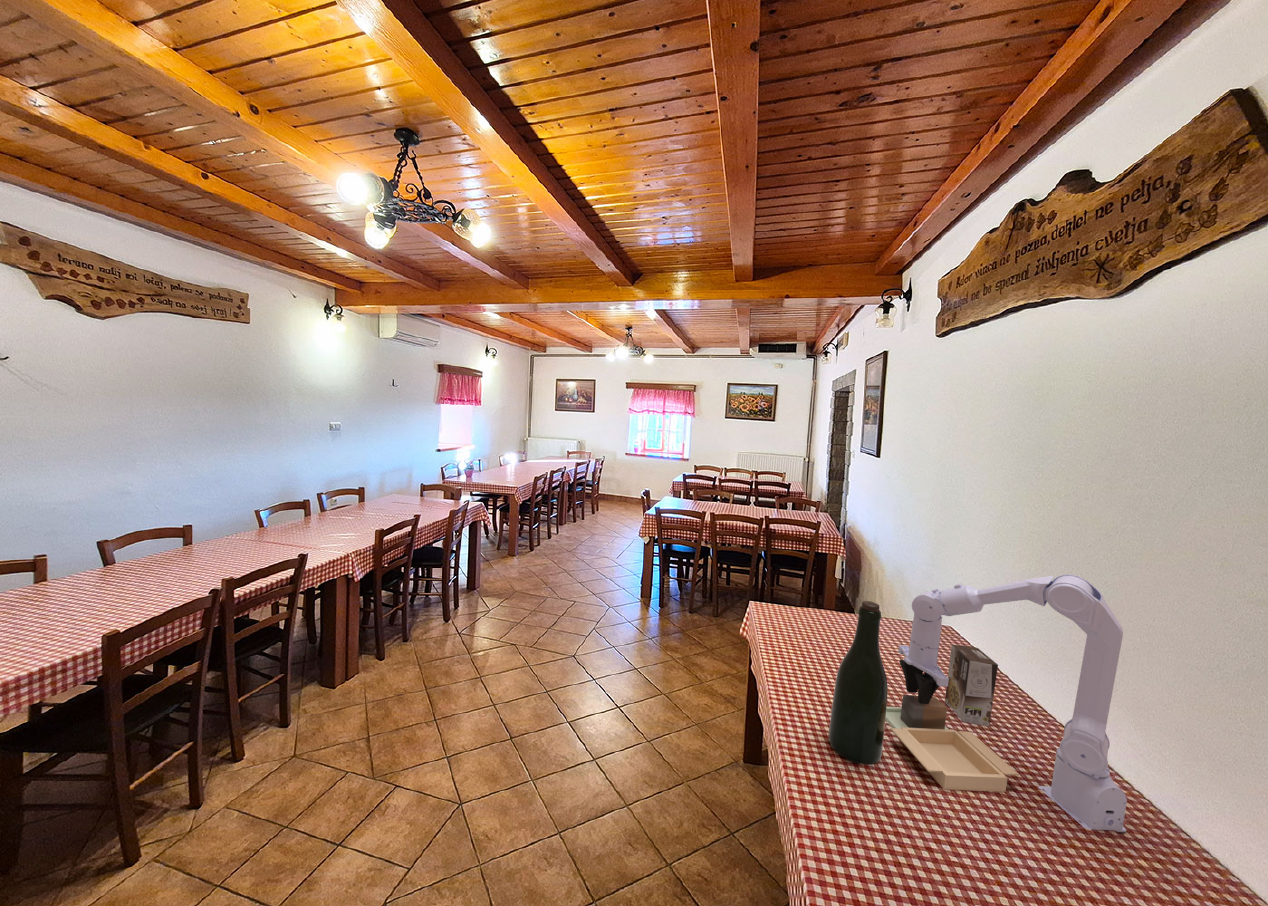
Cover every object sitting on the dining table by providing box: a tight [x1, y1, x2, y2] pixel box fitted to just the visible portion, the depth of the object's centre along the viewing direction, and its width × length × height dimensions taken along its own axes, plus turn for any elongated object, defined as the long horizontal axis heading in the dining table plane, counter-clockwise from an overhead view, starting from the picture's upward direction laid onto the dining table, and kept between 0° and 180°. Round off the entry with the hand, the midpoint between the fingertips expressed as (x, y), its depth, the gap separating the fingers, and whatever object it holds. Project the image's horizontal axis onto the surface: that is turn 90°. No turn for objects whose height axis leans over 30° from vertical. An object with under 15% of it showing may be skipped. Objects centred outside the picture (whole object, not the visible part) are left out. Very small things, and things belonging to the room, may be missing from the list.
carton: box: [890, 727, 1019, 793], centre depth 94 cm, size 14×19×4 cm
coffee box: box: [944, 644, 999, 727], centre depth 112 cm, size 9×6×16 cm
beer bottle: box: [828, 600, 889, 765], centre depth 96 cm, size 10×10×33 cm
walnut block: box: [900, 694, 948, 729], centre depth 106 cm, size 4×8×6 cm, turn 92°
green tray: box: [885, 706, 950, 730], centre depth 107 cm, size 10×13×1 cm
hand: (917, 697), depth 106 cm, fingers open, 4 cm apart
